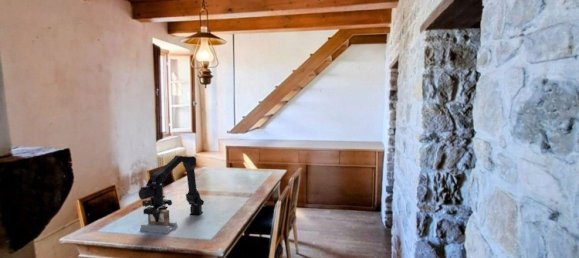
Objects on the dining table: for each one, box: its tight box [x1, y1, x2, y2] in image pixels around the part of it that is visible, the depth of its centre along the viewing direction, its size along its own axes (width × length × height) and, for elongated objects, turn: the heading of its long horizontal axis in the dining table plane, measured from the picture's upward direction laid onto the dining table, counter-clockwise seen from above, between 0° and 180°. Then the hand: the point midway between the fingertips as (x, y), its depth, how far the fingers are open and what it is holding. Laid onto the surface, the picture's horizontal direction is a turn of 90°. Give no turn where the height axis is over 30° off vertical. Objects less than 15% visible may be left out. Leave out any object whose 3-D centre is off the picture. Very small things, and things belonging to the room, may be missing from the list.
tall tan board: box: [147, 209, 170, 226], centre depth 185 cm, size 12×3×9 cm, turn 76°
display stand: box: [139, 220, 179, 234], centre depth 185 cm, size 18×10×3 cm, turn 76°
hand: (158, 220), depth 185 cm, fingers closed on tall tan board, 3 cm apart
